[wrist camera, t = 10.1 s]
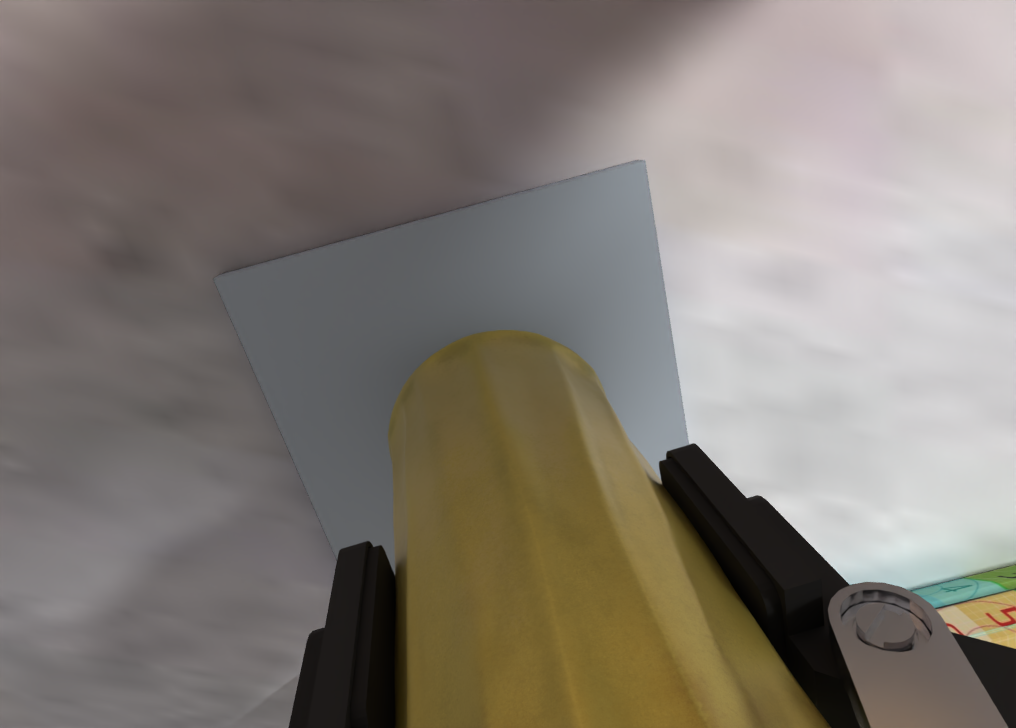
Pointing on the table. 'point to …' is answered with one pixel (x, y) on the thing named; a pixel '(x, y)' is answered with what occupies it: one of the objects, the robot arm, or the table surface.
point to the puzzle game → (978, 605)
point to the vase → (556, 562)
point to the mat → (455, 326)
